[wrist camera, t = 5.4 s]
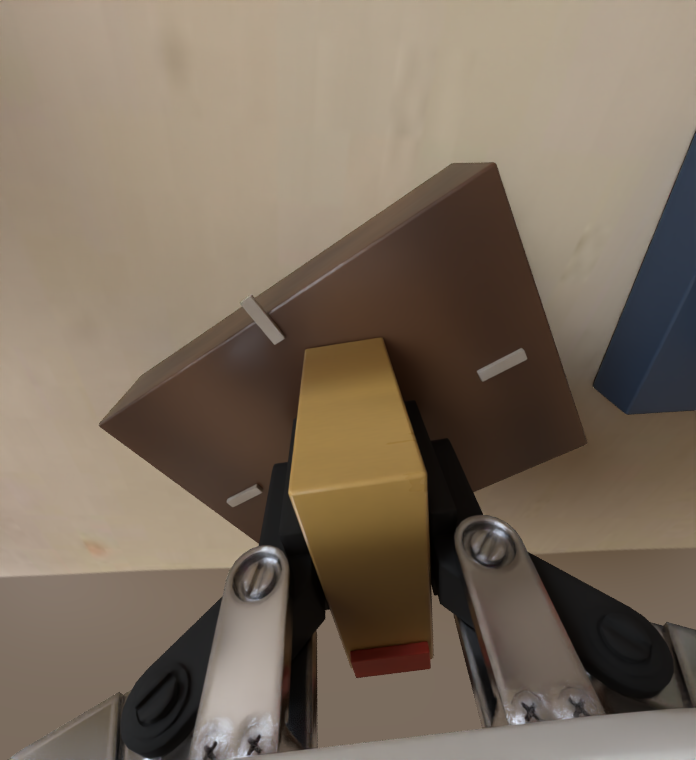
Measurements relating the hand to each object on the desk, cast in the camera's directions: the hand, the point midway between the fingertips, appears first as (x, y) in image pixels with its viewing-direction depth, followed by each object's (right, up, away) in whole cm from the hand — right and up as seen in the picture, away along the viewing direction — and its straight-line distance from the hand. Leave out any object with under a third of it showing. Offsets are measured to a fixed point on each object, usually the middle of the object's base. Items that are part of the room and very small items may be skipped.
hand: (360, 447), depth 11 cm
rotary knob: (0, 0, +1) cm, 1 cm away
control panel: (0, +2, +3) cm, 4 cm away
